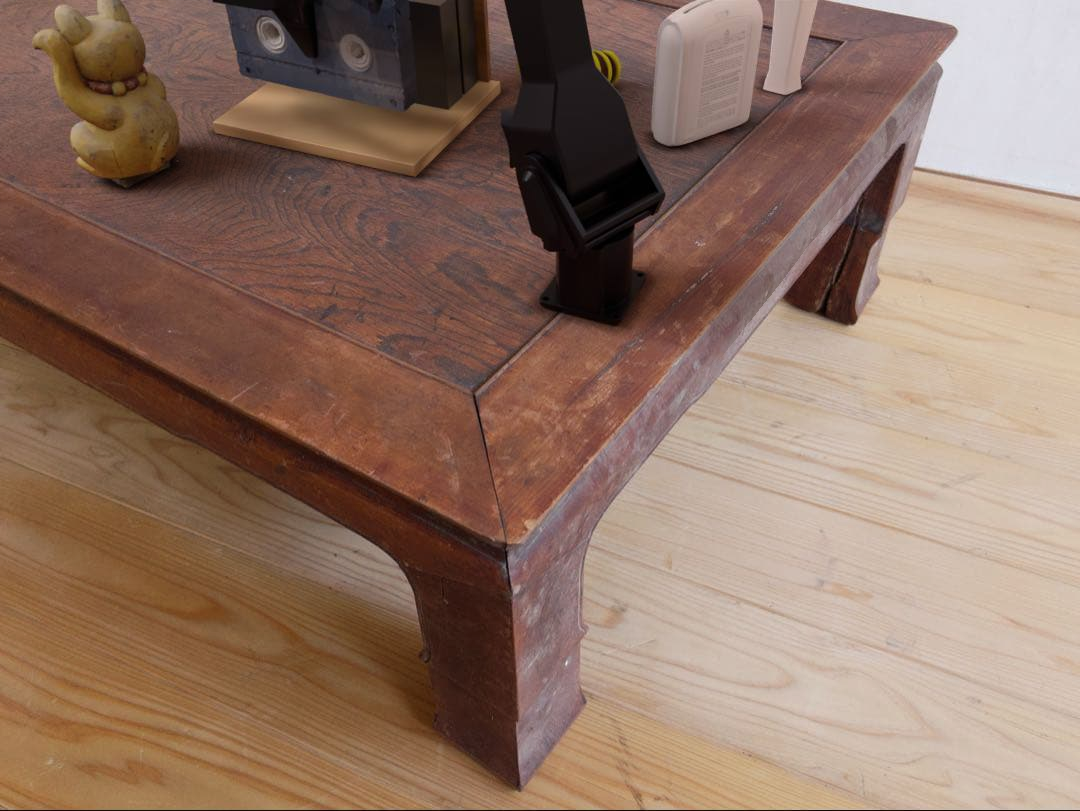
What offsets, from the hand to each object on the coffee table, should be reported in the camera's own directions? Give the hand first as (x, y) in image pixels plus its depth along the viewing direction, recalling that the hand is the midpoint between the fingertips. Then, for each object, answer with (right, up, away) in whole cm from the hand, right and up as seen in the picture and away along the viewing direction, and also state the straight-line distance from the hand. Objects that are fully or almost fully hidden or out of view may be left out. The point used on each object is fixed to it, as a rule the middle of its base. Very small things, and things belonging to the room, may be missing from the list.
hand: (320, 51), depth 88 cm
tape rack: (+2, -3, +9) cm, 10 cm away
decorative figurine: (-17, -10, +2) cm, 20 cm away
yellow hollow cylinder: (+23, +1, +13) cm, 26 cm away
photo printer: (+35, -6, +6) cm, 36 cm away
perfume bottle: (+44, +1, +12) cm, 46 cm away
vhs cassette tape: (0, -3, +3) cm, 4 cm away
